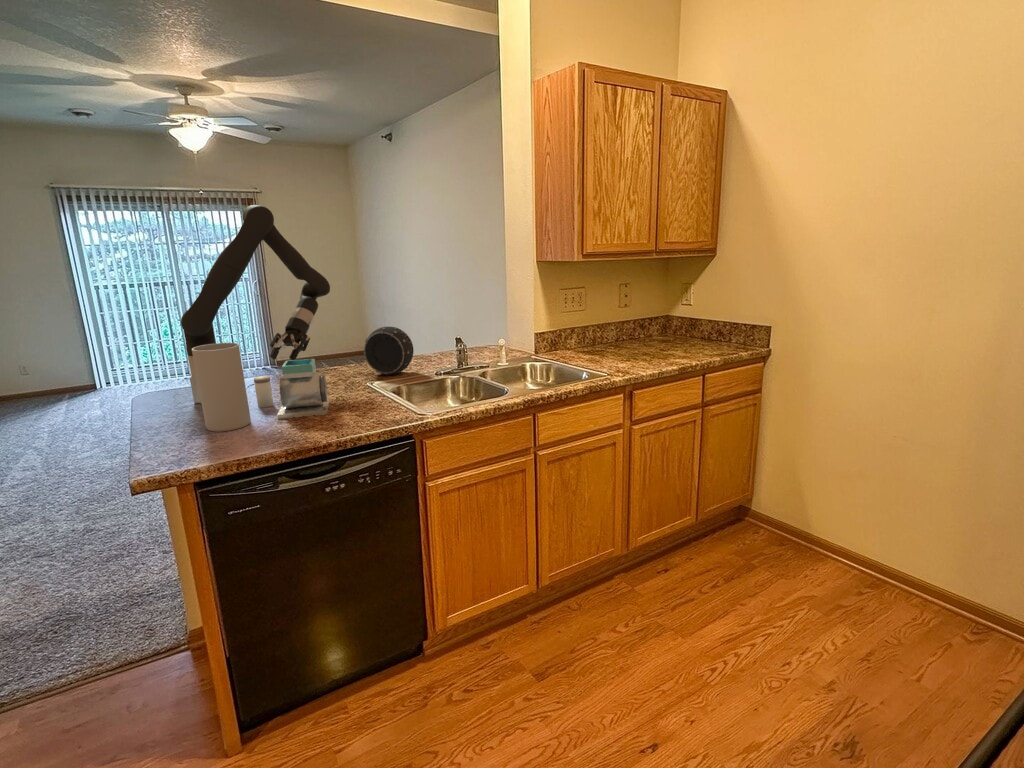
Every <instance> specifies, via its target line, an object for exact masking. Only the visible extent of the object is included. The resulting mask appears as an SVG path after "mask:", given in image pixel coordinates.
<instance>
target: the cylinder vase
mask: <svg viewBox="0 0 1024 768" xmlns="http://www.w3.org/2000/svg"><path fill="white" fill-rule="evenodd" d="M192 354H193V359H194V365H195V370H196V376H197V381H198V387H199V392H200V398H201V403H200V404H201V407H202V413H203V417H204V418H203V419H204V424H205V428H206V430H208V431H210V432H218V433H219V432H220V433H222V432H230V431H235V430H240V429H242V428H244V427H247V426H248V425H250V423H251V420H252V419H251V412H250V406H249V401H248V394H247V388H246V383H245V382H246V381H245V380H246V379H245V375H244V368H243V362H242V356H241V350H240V343H236V342H217V343H216V344H208V345H202V346H197V347H194V348H192Z"/></svg>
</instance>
